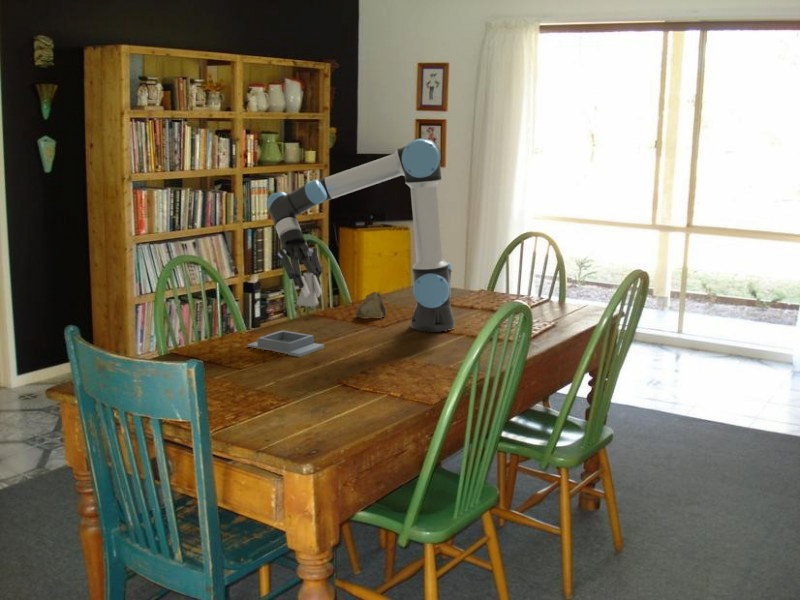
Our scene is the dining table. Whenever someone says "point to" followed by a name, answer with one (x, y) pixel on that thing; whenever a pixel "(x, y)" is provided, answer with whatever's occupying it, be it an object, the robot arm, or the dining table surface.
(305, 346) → the caddy board
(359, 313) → the rock
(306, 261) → the robot arm
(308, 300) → the flask
